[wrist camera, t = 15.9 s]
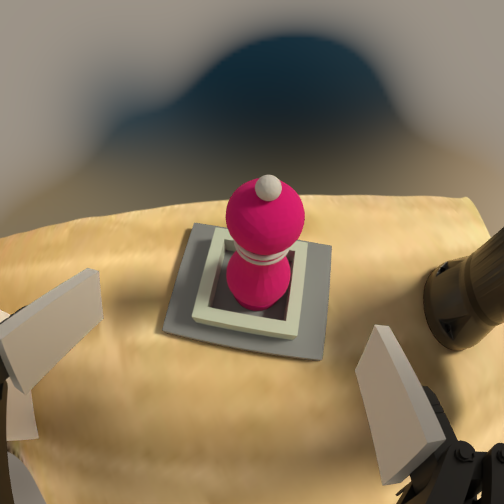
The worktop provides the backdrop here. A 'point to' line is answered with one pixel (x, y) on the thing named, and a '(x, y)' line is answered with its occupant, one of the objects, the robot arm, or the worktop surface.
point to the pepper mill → (262, 240)
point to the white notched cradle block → (19, 410)
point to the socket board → (244, 320)
